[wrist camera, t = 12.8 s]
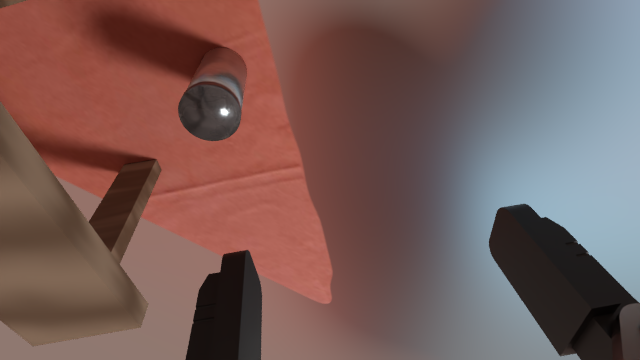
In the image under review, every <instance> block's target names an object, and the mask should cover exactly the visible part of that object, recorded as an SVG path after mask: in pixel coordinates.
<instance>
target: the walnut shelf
mask: <svg viewBox="0 0 640 360" xmlns="http://www.w3.org/2000/svg"><path fill="white" fill-rule="evenodd" d="M23 1H26V0H0V8H2V7H6V6H9V5H13V4H16V3H19V2H23ZM160 172H161V168H160V166H159V164H158V161H157V159H156V160H150V161H144V162H137V163H131V164H125V165H124V166H123V167H122V169H121V170H120V172H119V174H118V175H117V177H116V179H115V180H114V182H113V183H112V185H111V187H110V188H109V190H108V192H107V193H106V195H105V196H104V198H103V200H102V201H101V203H100V204H99V206H98V208H97V209H96V211H95V213H94V214H93V216H92V218H91V219H90V221H89V222H88V221H87V219H86V218H85V217H84V215H83V214H82V213H81V211H80V210H79V208H78V207H77V206H76V204H75V203H74V201H73V200H72V199H71V198H70V196H69V195H68V193H67V192H66V191H65V190H64V188H63V186H62V185H61V184H60V183H59V181H58V180H57V178H56V177H55V176H54V174H53V173H52V171H51V170H50V169H49V167H48V166H47V165H46V163H45V162H44V160H43V159H42V158H41V156H40V155H39V154H38V152H37V151H36V150H35V148H34V147H33V145H32V144H31V143H30V141H29V140H28V139H27V137H26V136H25V135H24V133H23V132H22V130H21V129H20V128H19V126H18V125H17V124H16V122H15V121H14V119H13V118H12V117H11V115H10V114H9V113H8V111H7V110H6V109H5V107H4V106H3V104H2V103H1V102H0V320H1V321H2V322H3V323H4V324H6V325H7V326H8V327H9V328H11V329H12V330H13V331H14V332H16V333H17V334H18V335H20V336H21V337H22V338H23V339H24V340H26V341H27V342H28V343H29V344H31V345H32V346H38V345H43V344H49V343H55V342H60V341H66V340H71V339H78V338H83V337H89V336H95V335H100V334H106V333H112V332H117V331H123V330H129V329H135V328H140V327H141V325H142V322H143V319H144V316H145V313H146V310H147V307H148V303H147V301H146V300H145V299H144V297H143V296H142V295H141V293H140V292H139V290H138V289H137V288H136V286H135V285H134V283H133V282H132V281H131V279H130V278H129V277H128V275H127V274H126V273H125V271H124V270H123V268H122V267H121V266H120V262H121V260H122V257H123V255H124V253H125V251H126V249H127V246H128V244H129V242H130V240H131V237H132V235H133V233H134V231H135V228H136V226H137V224H138V222H139V219H140V217H141V215H142V213H143V210H144V208H145V206H146V204H147V202H148V199H149V197H150V195H151V193H152V190H153V188H154V186H155V184H156V181H157V179H158V177H159V175H160Z"/></svg>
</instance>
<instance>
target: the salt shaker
mask: <svg viewBox="0 0 640 360" xmlns="http://www.w3.org/2000/svg"><path fill="white" fill-rule="evenodd" d="M246 77H247V68H246V64H245V62H244V60H243V59H242V57H241V56H240V55H239V54H238V53H236V52H235V51H233V50H231V49H229V48H224V47H218V48H214V49H211V50H210V51H208V52H207V53H206V54H205V55H204V57H203V59H202V61H201V63H200V65H199V67H198V68H197V70H196V72H195V74H194V76H193V78H192V80H191V82H190V84H189V86H188V88H187V90H186V91H185V93H184V94H183V96H182V98H181V100H180V103H179V107H178V113H179V117H180V120H181V122H182V124H183V125H184V127H185V128H186V129H187V130H188V131H189V132H190V133H191V134H193V135H194V136H196V137H198V138H200V139H203V140H208V141H219V140H223V139H226V138H228V137H230V136H231V135H232V134H234V133H235V131H236V130H237V129H238V127H239V124H240V120H241V109H242V103H243V96H244V90H245V83H246Z"/></svg>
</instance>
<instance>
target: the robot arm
mask: <svg viewBox="0 0 640 360" xmlns="http://www.w3.org/2000/svg"><path fill="white" fill-rule="evenodd" d="M489 247H490V252H491V254H492V256H493V258H494V260H495V261H496V263H497V264H498V266H499V267H500V269H501V270H502V272H503V273H504V275H505V276H506V278H507V279H508V281H509V282H510V283H511V285H512V286H513V288H514V289H515V291H516V292H517V293H518V295H519V297H520V298H521V300H522V301H523V302H524V304H525V305H526V307H527V308H528V310H529V311H530V313H531V314H532V316H533V317H534V318H535V320H536V321H537V323H538V324H539V326H540V327H541V329H542V330H543V332H544V333H545V335H546V336H547V338H548V339H549V340H550V342H551V343H552V345H553V346H554V348H555V349H556V351H557V352H558V354H559V355H560V356H564V355H570V354H575V353H577V355H578V356H579V357H580V359H581V360H640V303H639V302H638V301H637V300H635V299H634V298H633V297H632V296H631V295H630V294H629V293H628V292H627V291H626V290H625V289H624V288H623V287H622V286H621V285H620V284H619V283H618V282H617V281H616V280H615V279H614V278H613V277H612V276H611V275H610V274H609V273H608V272H607V271H606V270H605V269H604V268H603V267H602V266H601V265H600V264H599V262H597V260H596V259H595V258H593V256H592V255H591V256H590V255H589V254H588V251H587V250H586V249H585V248H583V246H581V244H578V243H577V240H576V239H575V238H574V237H573V236H572V235H571V234H570V233H569V232H568V231H567V230H566V229H565V228H564V227H562V226H560V225H559V224H557V223H555V222H553V221H552V220H550V219H548V218H546V217H545V218H541V217H540V216H539V215H538V214H537V213H536V212H535V211H534V210H533V209H532V208H531V207H530V206H529V205H526V204H520V205H514V206H508V207H502V208H500V209H498V211H497V214H496V217H495V221H494V224H493V228H492V232H491V235H490V239H489ZM193 322H194V323H193V324H192V329H191V334H190V340H189V345H188V350H187V355H186V360H261V322H262V292H261V284H260V280H259V277H258V274H257V271H256V268H255V266H254V263H253V260H252V257H251V255H250V252H249V251H248V250H245V251H239V252H233V253H227V254H224V255H223V258H222V264H221V271H220V272H219V273H213V274H209V275H208V276H207V278H206V280H205V281H204V283H203V284H202V286H201V288H200V289H199V293H198V298H197V303H196V310H195V314H194V319H193Z"/></svg>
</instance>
